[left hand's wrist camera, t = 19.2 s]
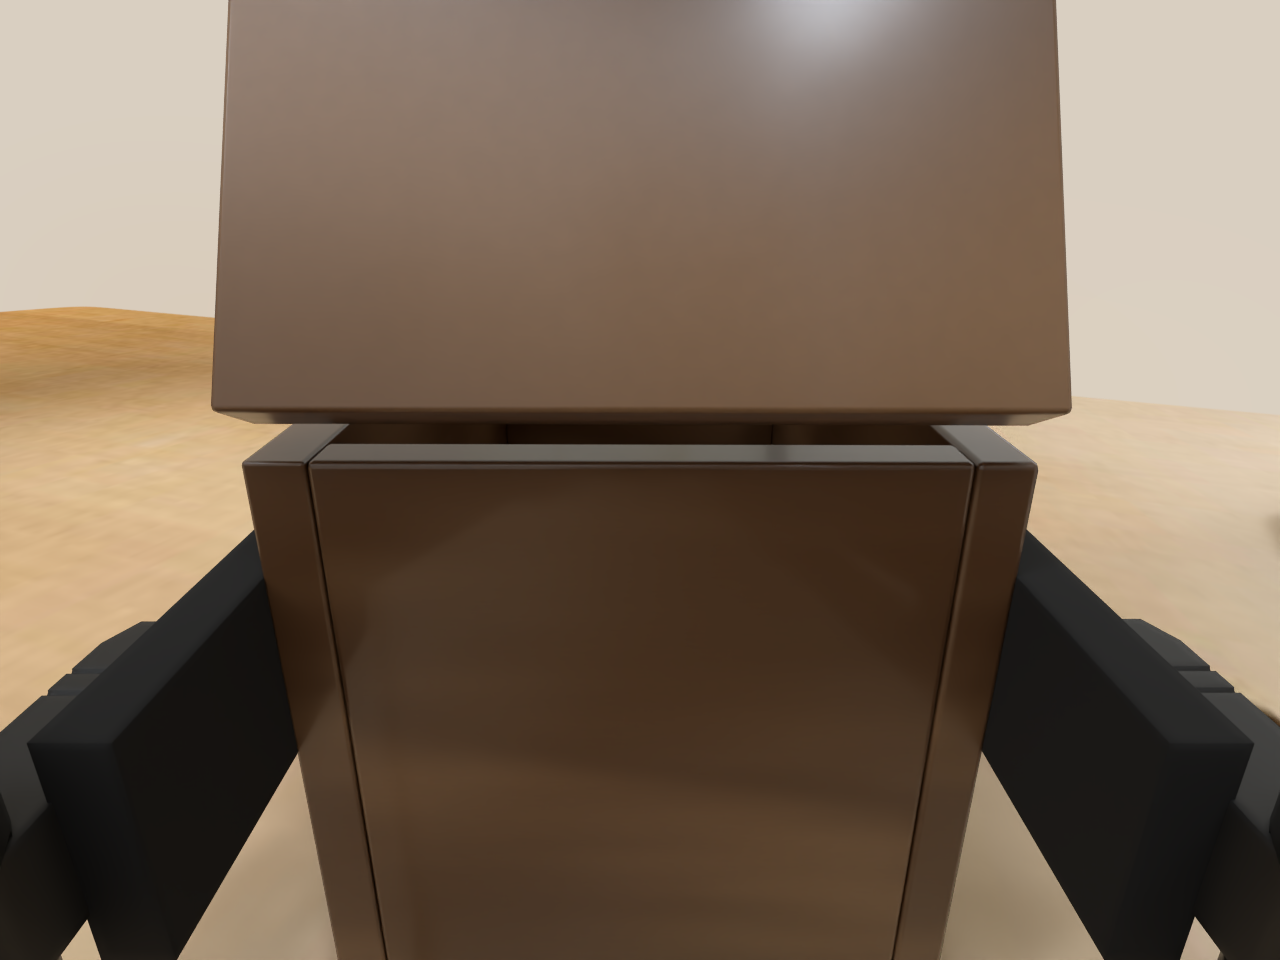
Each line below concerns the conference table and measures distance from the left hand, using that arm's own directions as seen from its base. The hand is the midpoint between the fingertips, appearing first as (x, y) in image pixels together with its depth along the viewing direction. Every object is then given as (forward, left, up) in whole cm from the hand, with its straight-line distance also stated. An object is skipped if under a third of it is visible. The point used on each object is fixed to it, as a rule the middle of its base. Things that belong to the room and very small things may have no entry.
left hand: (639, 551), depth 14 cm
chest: (+3, -2, -7) cm, 8 cm away
